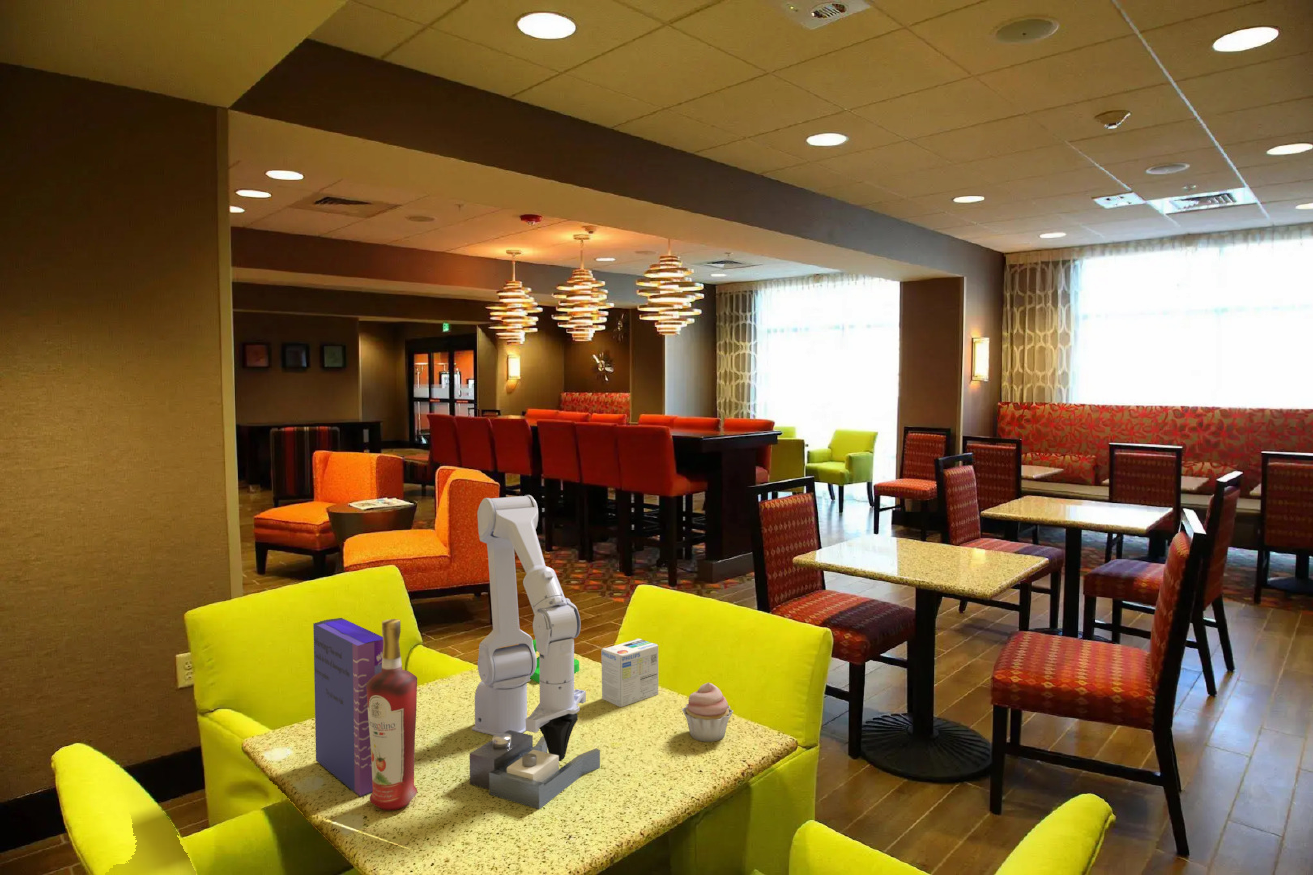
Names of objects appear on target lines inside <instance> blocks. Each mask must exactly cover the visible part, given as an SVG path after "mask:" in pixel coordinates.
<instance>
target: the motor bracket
mask: <svg viewBox="0 0 1313 875" xmlns="http://www.w3.org/2000/svg"><path fill="white" fill-rule="evenodd" d="M533 736H534V735H532V734H528V733H525V732H523V733H520V732H516V731H512V730H508V731H506V732H505V733H500V734H496V735H492V739H491V740H490V741H488V742H486V743H484V744H483V745H481V746H479V747H478V748H476V749H474V750H472V751H471V752H469V785H472V786H476V787H479V788H482V789H486V790H489V794H488V795H490V796H493V797H497V798H499V799H503V800H505V801H510V802H514V803H517V804H520V805H523V806H527V807H530V808H534V809H537V810H540V809H542V808H543V807H544V806H545V805H547V804H548V803H550V802H551V801H552V800H553V799H554V798H556V797H557V796H558V795H559V794H560V793H562V792H564V790H566V789H567V788H568V787H570V786H571V785H572V784H573V783H575V782H576V781H577V780H578V779H579V778H581V777H583V776H584V775H586V774H589V773H591V772H593V771H596V770H598V769H600V768H601V755H600V754H601V751H600V749H599V748H593V749H591V750H589V751H586V752H583V753H580V754H579V755H578V754H577V756H575V757H574V758H573V759H572V760H570V761H568V762H567V763H566V764H565V765H563V766H561V767H559V770H558V771H556V772H555V773H554V774H552V775H551V776H549V777H548V778H547V779H545V780H544V781H543V782H539V781H535V780H531V779H528V778H524V777H520V776H517V775H513V774H510V773H507V767H508V766H510V765H511V764H513V763H514V762H516V761H517V760H519V759H520V758H522V756H523V755H525V754H527V753H529V752H530V751H532V750H537V751H541V752H546V753H548V748H547V744H546V741H545V739H544V736H543V735H542V736H541V737H540V738H539V740H538V742H537V743H536V744H535V745H534V746H533V744H534V742H533V740H534V739H533Z"/></svg>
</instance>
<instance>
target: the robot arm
mask: <svg viewBox="0 0 1313 875" xmlns="http://www.w3.org/2000/svg"><path fill="white" fill-rule="evenodd" d="M477 509H478V510H477V530H478V536H479V541H480V542H481V543H484V544H486V548H487V558H488V573H489V574H488V575H489V590H490V604H491V619H492V620H491V622H492V630H491V632H490V633H488V635H486V637H485V638H484V639H482V641H480V643H479V646H478V659H477V670H478V676H479V678H480V680H481V681H480V682H479V683H478V684H477V686H476V689H475V694H474V726H472V727H471V730H472V731H475V732H479V733H482V734H487V735H491V736H494V735H496V734H500V733H505V732H506V731H508V730H512V731H516V732H520V733H525V732H530V733H534V734H536V733H538V732H539V731H540V732H541V734H542V736H544V739H545V741H546V744H547V753H550V754H554V755H558V756H559V762H562V760H564V759H565V757H566V754H567V749H568V746H569V745H568V744H569V740H570V737H571V735H572V731H573V729H574V728H575V725H576V723H577V722H578V720H579V719H578V718H579V717H578V716H579V715H578V713H579V712H580V706H579V704H584V703H586V699H587V698H586V697H587V692H586V690H582V689H578V688H576V689H575V674H574V658H575V640H574V639H576V638H577V637H578V636H579V635H580V633H581V628H582V626H581V625H582V623H581V616H580V613H579V610H578V607H577V606H576V605H575V603H573V602H571V599H570V598H568V597H567V598H566V597H565V595H564V591H563V588H562V587H561V584H560V581H559V579H558V577H557V576H558V575H557V573H556V571H555V570H554V568H551V567H549V566H546V563H545V559H544V555H543V551H542V548H541V544H540V541H539V537H538V535H537V531H536V529H537V527H538V522H539V508H538V503H537V501H536V499H534V497H533V496H532V495H530V494H525V495H524V496H523V495H519V496H508V497H505V496H504V497H493V498H490V497H484V498H483V499H482V500H481V501H480V504H479V506H478V508H477ZM515 553H516V555H517V557H518V559H519V561H520V563H521V565H522V568H523V570H524V572H525V576H524V578H523V581H522V583H523V587H524V590H525V592H526V595H527V598H528V600H529V604H530V607H531V609H532V612H533V614H534V616H533V621H532V630H533V635H534V638H535V639H536V648H537V652H538V653H539V656H538V657H539V667H540V683H539V703H538V704H537V705H536V707H535V709H534V710H533V711H532V713H531V714H530V715H529V716H528V682H531V679H530V676H532V675H533V674H534V672H535V670H536V666H537V658H538V657H537V652H536V653H535V650H534V647H533V640H535V639H533V637H532V636H531V635H530V634H528V633H527V632H525V631H523V630H522V629H520V619H519V618H520V616H519V604H518V602H519V600H518V588H517V575H516V574H517V572H516V571H517V570H516V561H515V560H516V559H515Z"/></svg>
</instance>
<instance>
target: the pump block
mask: <svg viewBox="0 0 1313 875" xmlns="http://www.w3.org/2000/svg"><path fill="white" fill-rule="evenodd" d="M559 769H560V761H559V756H558V755H554V754H550V753H549V752H547V753H546V752H541V751H537V750H532V751H530V752H529V753H527V754H525V755H523V756H522V758H520V759H519V760H517V761H516V762H514V763H513V764H511V765H510V766H508V767H507V773H510V774H513V775H517V776H520V777H524V778H528V779H531V780H535V781H539V782H543V781H544V780H545V779H547V778H548V777H549V776H551V775H552V774H554V773H555V772H556V771H558V770H559Z"/></svg>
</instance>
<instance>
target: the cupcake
mask: <svg viewBox="0 0 1313 875" xmlns="http://www.w3.org/2000/svg"><path fill="white" fill-rule="evenodd" d="M728 704H729V703H728V701H727V698H726V697H725V696H724V695H723V693H722V691H721V689H720V688H719V687H717V686H716V685H714V684H713V683H710V682H706V683H704V684H702V685H700V687H699V688H698V689H697V691H694V692H692V693H691V694H690V695H689V697H688V703H686V704H685V707H682V709H681V710H682V712H683V714H684V716H685V719H686V722H687V726H688V730H689V731H688V732H689V734H690V737H691V738H692V739H693V740H696V741H699V742H706V743H711V742H718V741H720V740H722V739H723V738H725V735H726V731H727V726H728V723H729V720H730V718H731V716H732V715H733V713H734V710H733V709H731V706H730V705H728Z"/></svg>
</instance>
